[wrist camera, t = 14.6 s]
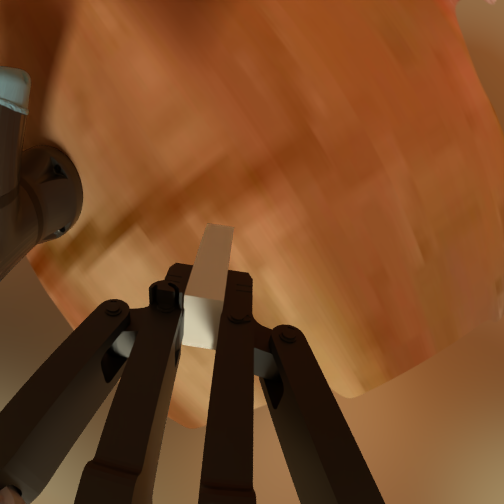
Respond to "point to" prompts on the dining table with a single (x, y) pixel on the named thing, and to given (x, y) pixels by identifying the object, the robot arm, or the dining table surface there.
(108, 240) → the dining table surface
